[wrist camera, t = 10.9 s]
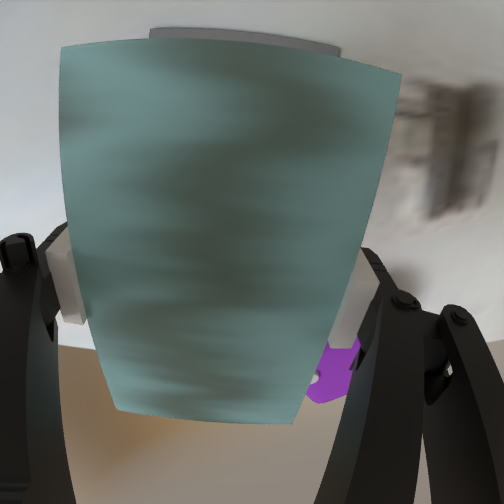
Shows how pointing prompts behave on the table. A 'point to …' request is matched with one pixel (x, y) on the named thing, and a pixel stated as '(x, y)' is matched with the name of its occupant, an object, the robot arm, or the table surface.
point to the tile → (216, 214)
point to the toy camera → (332, 373)
